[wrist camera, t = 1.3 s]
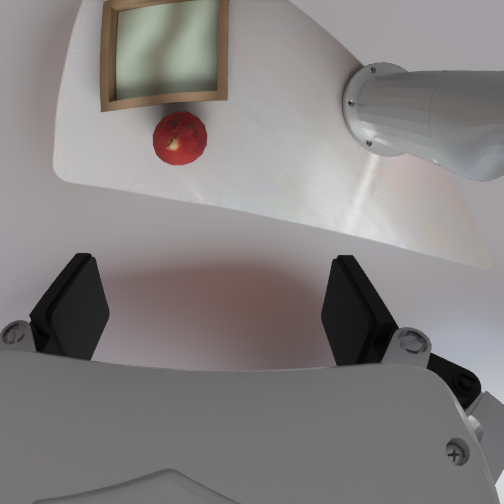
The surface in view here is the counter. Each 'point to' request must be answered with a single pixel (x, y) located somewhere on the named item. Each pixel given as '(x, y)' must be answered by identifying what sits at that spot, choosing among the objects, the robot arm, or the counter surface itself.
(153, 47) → the tray
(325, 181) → the counter surface
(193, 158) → the dark red round piece
